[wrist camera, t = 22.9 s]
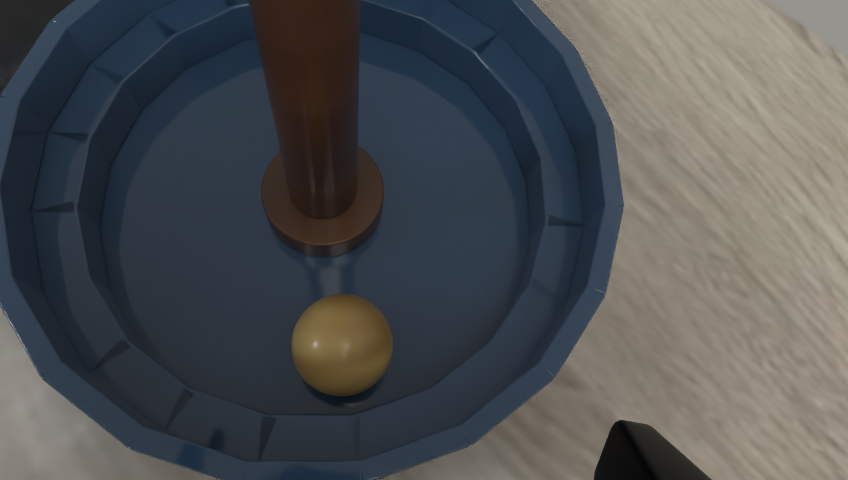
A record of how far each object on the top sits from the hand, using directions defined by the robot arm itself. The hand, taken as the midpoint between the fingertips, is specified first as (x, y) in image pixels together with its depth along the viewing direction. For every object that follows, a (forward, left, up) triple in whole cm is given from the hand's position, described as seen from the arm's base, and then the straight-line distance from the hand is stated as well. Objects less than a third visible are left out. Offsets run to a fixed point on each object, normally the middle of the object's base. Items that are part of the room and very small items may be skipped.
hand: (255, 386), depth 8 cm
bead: (+3, -1, -11) cm, 11 cm away
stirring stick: (+8, 0, -12) cm, 15 cm away
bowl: (+8, 0, -13) cm, 15 cm away
